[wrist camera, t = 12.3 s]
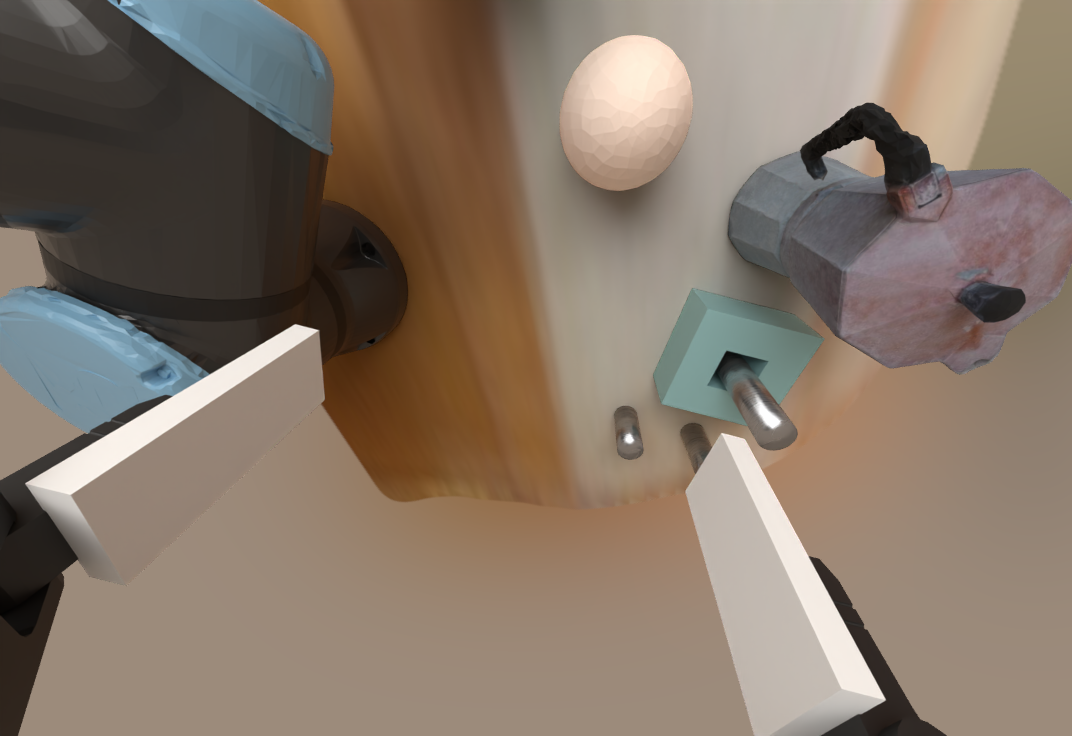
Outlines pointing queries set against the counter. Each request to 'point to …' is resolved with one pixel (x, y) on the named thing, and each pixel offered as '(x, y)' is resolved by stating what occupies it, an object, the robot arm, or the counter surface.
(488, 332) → the counter surface
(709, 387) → the teal square nut
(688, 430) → the pin medium
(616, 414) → the pin short
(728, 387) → the pin long
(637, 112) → the egg
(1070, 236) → the moka pot
